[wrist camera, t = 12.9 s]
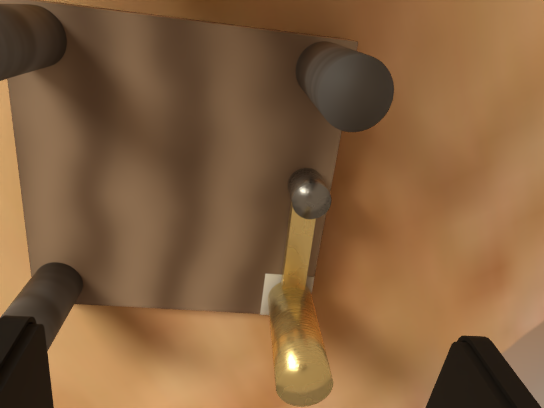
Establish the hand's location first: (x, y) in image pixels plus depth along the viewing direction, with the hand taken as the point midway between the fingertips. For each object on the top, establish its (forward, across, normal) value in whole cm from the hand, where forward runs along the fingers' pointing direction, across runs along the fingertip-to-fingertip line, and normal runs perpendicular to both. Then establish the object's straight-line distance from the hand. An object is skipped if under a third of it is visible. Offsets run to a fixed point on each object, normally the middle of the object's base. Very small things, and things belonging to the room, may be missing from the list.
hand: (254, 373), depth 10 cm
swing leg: (+21, -6, +9) cm, 24 cm away
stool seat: (+24, +4, +5) cm, 25 cm away
